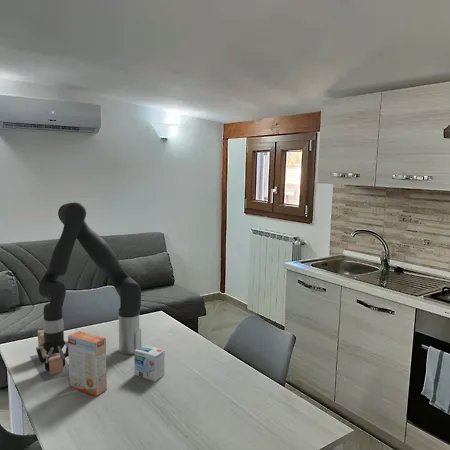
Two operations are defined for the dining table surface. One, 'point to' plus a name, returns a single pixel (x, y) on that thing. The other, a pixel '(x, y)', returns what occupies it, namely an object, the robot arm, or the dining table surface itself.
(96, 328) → the dining table surface
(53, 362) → the terracotta cube
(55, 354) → the tower base
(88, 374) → the cracker box
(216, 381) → the dining table surface
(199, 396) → the dining table surface
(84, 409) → the dining table surface
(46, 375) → the rubber mat
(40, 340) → the tower mid
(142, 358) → the light bulb box
